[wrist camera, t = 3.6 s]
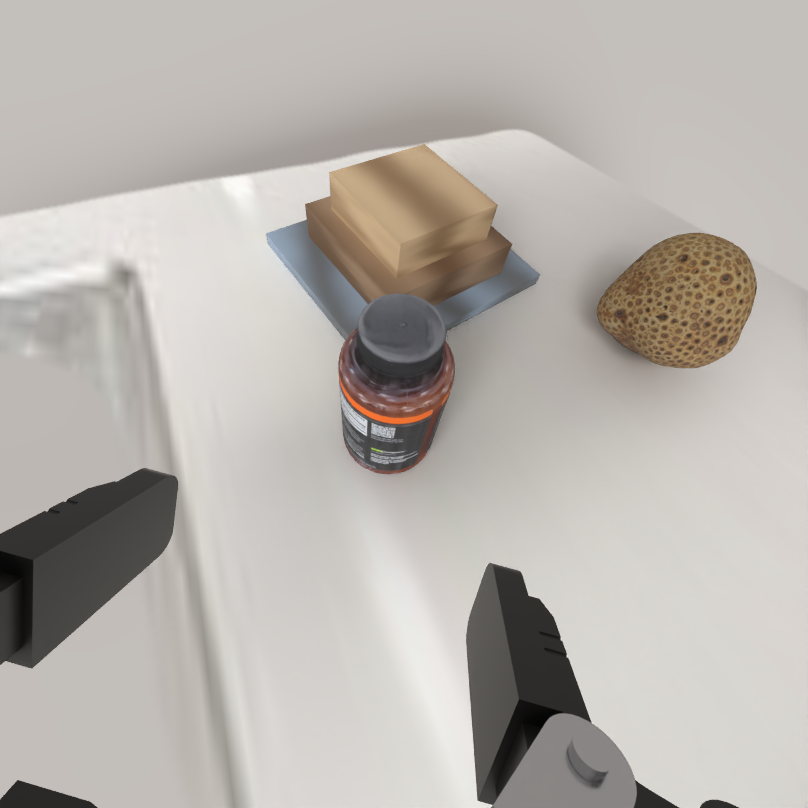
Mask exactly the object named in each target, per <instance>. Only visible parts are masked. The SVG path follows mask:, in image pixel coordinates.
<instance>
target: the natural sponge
mask: <svg viewBox="0 0 808 808" xmlns="http://www.w3.org/2000/svg"><path fill="white" fill-rule="evenodd" d="M756 289H757V284H756V278H755V273H754V270H753V267H752V264H751V262H750V259H749V258H748V256H747V255H746V253H745V252H744V251H743V250H742V249H741V248H739V247H738V246H736V245H734V244H733V243H731V242H729V241H727V240H725V239H723V238H720V237H717V236H714V235H710V234H704V233H688V234H683V235H677V236H674V237H671V238H668V239H666V240H664V241H662V242H660V243H658V244H656V245H654V246H653V247H652V248H650V249H649V250H648V251H647V252H645V253H644V254H643V255H642V256H641V257H640V258H639V259H638V260H636V261H635V262H634V263H633V264H632V265H631V266H630V267H629V268H628V269H627V270H626V271H625V272H624V273H623V274H622V275H621V276H620V277H619V278H618V279H617V280H616V281H615V282H614V283H613V284H612V285H611V286H610V287H609V288H608V289H607V290H606V292H605V294H604V295H603V297H602V298H601V300H600V302H599V304H598V308H597V316H598V319H599V322H600V324H601V325H602V327H603V328H604V329H605V330H606V331H607V332H609V333H610V334H611V335H612V336H614V337H615V338H616V339H617V340H618V341H619V343H621V344H622V345H624V346H625V347H627V348H628V349H630V350H632V351H634V352H636V353H639V354H641V355H642V356H643V357H645V358H646V359H648V360H650V361H652V362H653V363H656V364H659V365H663V366H669V367H675V368H697V367H701V366H704V365H707V364H710V363H712V362H714V361H716V360H718V359H720V358H721V357H723V356H725V355H726V354H728V353H729V352H730V351H731V350H732V349H733V348H734V346H735V345H736V344H737V342H738V340H739V337H740V333H741V331H742V329H743V327H744V325H745V323H746V321H747V319H748V317H749V315H750V313H751V309H752V306H753V303H754V299H755V295H756Z"/></svg>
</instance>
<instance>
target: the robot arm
mask: <svg viewBox="0 0 808 808" xmlns="http://www.w3.org/2000/svg"><path fill="white" fill-rule="evenodd" d="M177 491H178V480H177V478H176V477H175V476H172V475H169V474H165V473H161V472H158V471H154V470H150V469H147V468H143V469H140V470H138V471H136V472H134V473H132V474H131V475H129V476H127V477H125V478H123V479H121V480H119V481H118V482H111V483H107V484H103V485H100V486H96V487H92V488H88V489H86V490H85V491H83V492H81V493H79V494H77V495H75V496H73V497H71V498H69V499H68V500H67V501H66V502H61V503H59V504H57V505H55V506H53V507H51V508H50V509H49V511H48V512H46V511H44V512H42V513H40V514H38V515H36V516H34V517H32V518H30V519H28V520H26V521H24V522H22V523H20V524H19V525H17V526H15V527H13V528H11V529H9V530H7V531H5V532H3V533H1V534H0V665H1V664H2V663H3V662H4V661H8V662H11V663H15V664H18V665H22V666H25V667H28V668H33V667H34V666H35V665H36V664H38V663H39V662H40V661H41V660H42V659H43V658H44V657H45V656H47V655H48V654H49V653H50V652H51V651H52V650H53V649H55V648H56V647H57V646H58V645H59V644H60V643H61V642H62V641H64V640H65V639H66V638H67V637H68V636H69V635H70V634H71V633H73V632H74V631H75V630H76V629H77V628H78V627H79V626H81V625H82V624H83V623H84V622H85V621H86V620H87V619H88V618H90V617H91V616H92V615H93V614H94V613H95V612H96V611H97V610H98V609H100V608H101V607H102V606H103V605H104V604H105V603H107V602H108V601H109V600H110V599H111V598H112V597H113V596H114V595H115V594H117V593H118V592H119V591H120V590H121V589H122V588H124V587H125V586H126V585H127V584H128V583H129V582H130V581H132V580H133V579H134V578H135V577H136V576H137V575H138V574H139V573H141V572H142V571H143V570H144V569H145V568H146V567H147V566H149V565H150V564H151V563H152V562H153V561H154V560H155V559H156V558H158V557H159V556H160V555H161V554H162V552H163V551H164V550H165V548H166V547H167V545H168V543H169V541H170V539H171V536H172V532H173V526H174V517H175V508H176V499H177ZM560 638H561V636H560V634H559V631H558V628H557V625H556V623H555V620H554V617H553V616H552V615H551V613H550V612H549V611H548V610H547V608H546V607H545V606H544V604H543V603H542V602H541V600H540V599H538V598H534V597H531V596H528V593H527V589H526V586H525V583H524V579H523V576H522V573H521V572H520V571H518V570H514V569H510V568H507V567H503V566H499V565H496V564H492V563H489V564H488V566H487V567H486V570H485V572H484V575H483V578H482V581H481V584H480V587H479V590H478V593H477V596H476V599H475V601H474V604H473V607H472V610H471V613H470V617H469V621H468V626H467V635H466V645H467V659H468V673H469V687H470V701H471V715H472V729H473V743H474V756H475V770H476V784H477V798H478V801H481V802H484V803H488V804H491V805H493V806H492V807H491V808H679V807H677V806H675V805H674V804H672V803H670V802H669V801H667V800H665V799H664V798H662V797H660V796H659V795H657V794H655V793H654V792H652V791H650V790H649V789H647V788H646V787H644V786H643V785H641V784H640V783H638V782H637V781H636V780H635V778H634V775H633V773H632V770H631V768H630V766H629V764H628V762H627V760H626V758H625V757H624V755H623V754H622V752H621V751H620V750H619V748H618V747H617V746H616V744H615V743H614V742H613V741H612V740H611V739H610V738H609V737H608V736H607V735H606V734H605V733H604V732H603V731H602V730H600V729H599V728H598V727H596V726H595V725H594V724H592V723H591V720H590V717H589V715H588V712H587V709H586V706H585V703H584V701H583V698H582V695H581V692H580V689H579V687H578V684H577V681H576V678H575V676H574V673H573V670H572V667H571V664H570V662H569V659H568V658H566V655H567V653H566V650H565V648H564V645H563V642H562V641H560ZM0 808H97V807H96V806H95V805H94V804H92V803H91V802H89V801H86V800H82V799H79V798H76V797H72V796H68V795H66V794H62V793H59V792H56V791H52V790H49V789H46V788H42V787H39V786H36V785H32V784H29V783H26V782H22V781H19V780H17V782H16V783H15V784H14V785H13V786H12V787H11V788H10V789H9V790H8V791H7V793H6V794H5V795H4V796H3V797H2V798H1V800H0ZM700 808H738V807H736V806H734V805H732V804H730V803H727V802H724V801H720V800H709V801H706V802H704V803H703V804H702V805H701V807H700Z"/></svg>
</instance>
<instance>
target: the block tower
mask: <svg viewBox="0 0 808 808" xmlns="http://www.w3.org/2000/svg"><path fill="white" fill-rule="evenodd" d="M329 176H330V195H331V196H330V197H326V198H323V199H320V200H317V201H314V202H311V203H308V204H305V207H306V216H307V220H305V221H302V222H299V223H296V224H293V225H290V226H287V227H284V228H281V229H278V230H275V231H272V232H269V233H267V234H266V237H267V241H268V244H269V245H270V247H271V248H272V249H273V250H274V252H275V253H276V254H277V255H278V257H279V258H280V259H281V260H282V262H283V263H284V264H285V265H286V267H287V268H288V269H289V270H290V272H291V273H292V274H293V275H294V277H295V278H296V279H297V280H298V282H299V283H300V284H301V285H302V287H303V288H304V289H305V290H306V292H307V293H308V294H309V295H310V297H311V298H312V299H313V300H314V302H315V303H316V304H317V305H318V307H319V308H320V309H321V310H322V312H323V313H324V314H325V315H326V317H327V318H328V319H329V320H330V321H331V323H332V324H333V325H334V326H335V328H336V329H337V330H338V331H339V333H340V334H341V335H342V336H343V338H344V339H345V340H346V339H347V338H348V336H349V335H350V334H351V333H352V332H353V330H355V329H356V328H357V326H358V318H359V316H360V314H361V312H362V310H363V309H364V308H365V306H367V305H368V304H369V303H370V302H371V301H373V300H374V299H376V298H379V297H381V296H384V295H389V294H394V293H398V294H399V293H400V294H408V295H414V296H417V297H419V298H422V299H424V300H426V301H427V302H429V303H430V304H432V305H433V306H434V307H435V308H436V309H437V310H438V311H439V313H440V314H441V316H442V317H443V319H444V322H445V325H446V331H447V330H449V329H450V328H452V327H454V326H456V325H458V324H460V323H462V322H464V321H466V320H468V319H469V318H471V317H473V316H475V315H477V314H479V313H481V312H483V311H485V310H486V309H488V308H490V307H492V306H494V305H496V304H498V303H500V302H502V301H503V300H505V299H507V298H509V297H511V296H513V295H515V294H517V293H519V292H521V291H522V290H524V289H526V288H528V287H530V286H532V285H534V284H536V282H537V280H538V278H539V276H540V274H538V273H537V272H536V271H535V270H534V269H533V268H531V267H530V266H529V265H528V264H527V263H526V262H525V261H523V260H522V259H521V258H520V257H519V256H518V255H517V254H515V253H514V252H513V251H512V250H511V249H510V248H511V246H512V244H511V243H510V242H509V241H508V240H507V239H506V238H504V237H503V236H502V235H501V234H500V233H499V232H497V231H496V230H495V229H494V228H493V227H492V226H491V224H492V221H493V218H494V215H495V212H496V209H497V206H498V205H497V204H496V203H495V202H493V201H492V200H491V199H490V198H489V197H487V196H486V195H485V194H484V193H483V192H481V191H480V190H479V189H478V188H477V187H475V186H474V185H473V184H472V183H471V182H469V181H468V180H467V179H466V178H464V177H463V176H462V175H461V174H460V173H458V172H457V171H456V170H455V169H454V168H452V167H451V166H450V165H449V164H448V163H446V162H445V161H444V160H443V159H442V158H440V157H439V156H438V155H437V154H436V153H434V152H433V151H432V150H431V149H429V148H428V147H427V146H426V145H425V144H423V145H420V146H417V147H413V148H410V149H407V150H403V151H400V152H396V153H393V154H390V155H386V156H383V157H380V158H376V159H373V160H369V161H366V162H363V163H359V164H356V165H353V166H349V167H346V168H342V169H339V170H336V171H332V172H329Z"/></svg>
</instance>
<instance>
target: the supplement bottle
mask: <svg viewBox="0 0 808 808" xmlns="http://www.w3.org/2000/svg"><path fill="white" fill-rule="evenodd" d="M445 338H446V325H445V322H444V319H443V317H442V316H441V314H440V313H439V311H438V310H437V309H436V308H435V307H434V306H433V305H432V304H430V303H429V302H427V301H426V300H424V299H422V298H419V297H417V296H414V295H408V294H400V293H399V294H398V293H394V294H389V295H384V296H381V297H379V298H376V299H374V300H373V301H371V302H370V303H369V304H368V305H367V306H365V308H364V309H363V310H362V312H361V314H360V316H359V318H358V326H357V328H356V329H355V330H353V332H352V333H351V334H350V335H349V336H348V338H347V339H346V341H345V342H344V344H343V347H342V349H341V353H340V356H339V384H340V397H341V410H342V423H343V435H344V441H345V444H346V447H347V449H348V451H349V453H350V455H351V456H352V457H353V458H354V460H355V461H357V463H359V464H360V465H361V466H362V467H364V468H366V469H369V470H371V471H373V472H376V473H382V474H395V473H401V472H404V471H406V470H408V469H410V468H412V467H414V466H415V465H416V464H418V463H419V462H420V461H421V460H422V459H423V458H424V456H425V455H426V453H427V451H428V450H429V448H430V445H431V443H432V440H433V437H434V435H435V431H436V429H437V426H438V423H439V421H440V418H441V415H442V412H443V410H444V407H445V404H446V402H447V399H448V397H449V393H450V390H451V388H452V384H453V380H454V373H455V364H454V358H453V355H452V352H451V349H450V347H449V346H448V344H447V342H446V341H445Z"/></svg>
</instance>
